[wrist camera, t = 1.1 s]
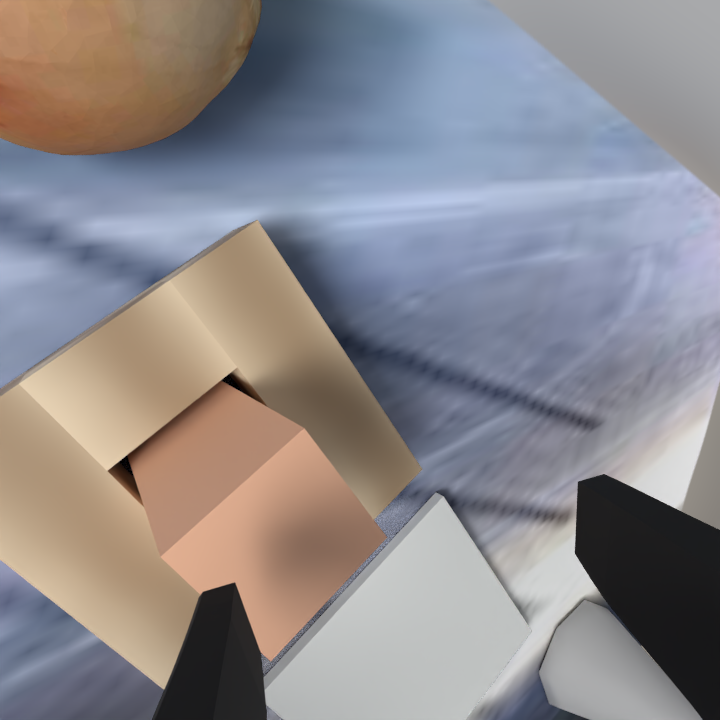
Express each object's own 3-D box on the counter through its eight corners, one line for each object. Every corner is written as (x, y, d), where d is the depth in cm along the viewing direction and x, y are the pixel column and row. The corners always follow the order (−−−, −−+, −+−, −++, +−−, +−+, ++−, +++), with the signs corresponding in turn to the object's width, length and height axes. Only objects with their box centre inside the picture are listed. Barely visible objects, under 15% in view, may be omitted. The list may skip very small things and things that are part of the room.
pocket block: (175, 656, 20) (190, 710, 17) (-79, 442, 15) (-111, 472, 13) (384, 450, 24) (422, 469, 21) (233, 230, 19) (257, 220, 17)
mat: (386, 806, 26) (393, 817, 26) (253, 688, 22) (258, 697, 21) (524, 625, 30) (532, 631, 30) (435, 492, 26) (443, 496, 25)
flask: (582, 578, 33) (764, 679, 24) (622, 631, 36) (795, 737, 27) (520, 676, 31) (694, 824, 22) (568, 723, 34) (737, 869, 25)
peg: (193, 517, 20) (271, 661, 12) (124, 445, 18) (159, 557, 10) (271, 448, 21) (387, 537, 13) (213, 375, 19) (304, 428, 12)
